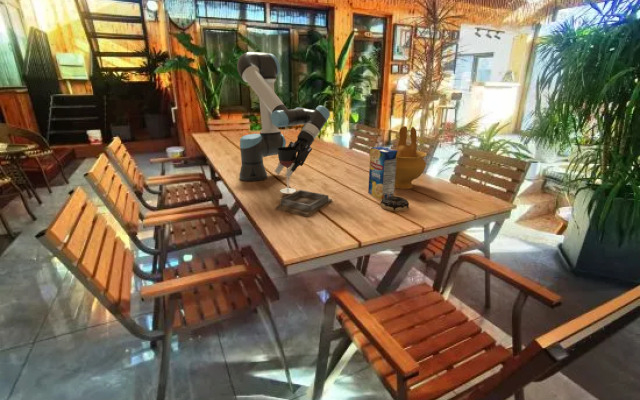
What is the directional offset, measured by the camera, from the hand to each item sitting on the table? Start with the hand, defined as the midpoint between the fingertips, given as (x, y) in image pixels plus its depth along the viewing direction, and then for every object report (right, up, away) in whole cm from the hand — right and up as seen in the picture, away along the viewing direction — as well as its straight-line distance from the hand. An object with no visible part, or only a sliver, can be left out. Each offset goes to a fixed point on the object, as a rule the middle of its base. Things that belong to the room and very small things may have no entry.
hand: (281, 174), depth 151 cm
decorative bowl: (+60, -4, +20) cm, 63 cm away
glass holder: (+11, -14, -7) cm, 19 cm away
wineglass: (+2, -7, +5) cm, 9 cm away
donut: (+50, -15, -9) cm, 53 cm away
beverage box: (+46, -10, +6) cm, 48 cm away
